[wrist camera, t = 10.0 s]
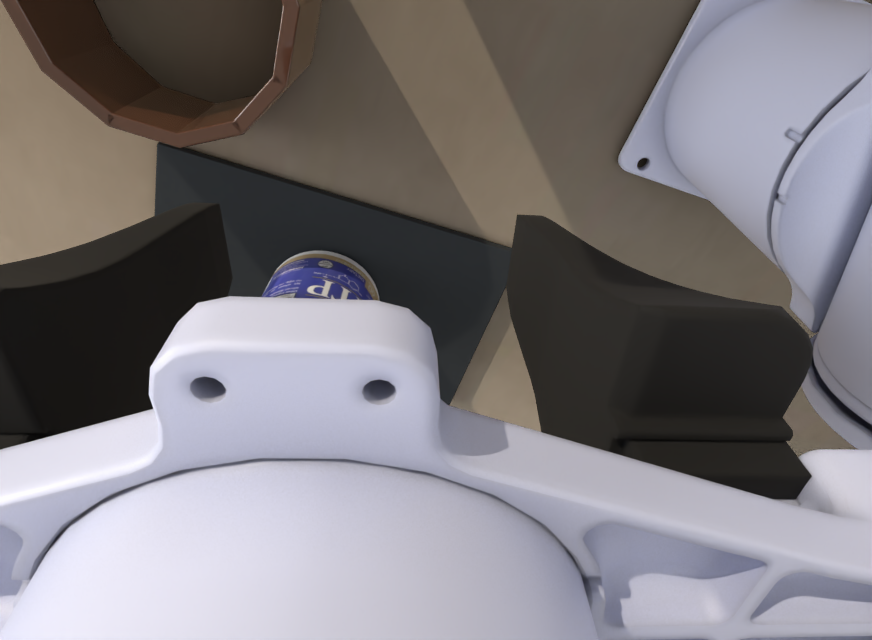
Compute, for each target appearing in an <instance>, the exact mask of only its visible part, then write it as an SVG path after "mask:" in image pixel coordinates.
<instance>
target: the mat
mask: <svg viewBox="0 0 872 640" xmlns="http://www.w3.org/2000/svg"><path fill="white" fill-rule="evenodd" d="M193 202H195V203H220V209H221V215H222V220H223V226H224V231H225V237H226V243H227V248H228V254H229V259H230V265H231V271H232V276H233V279H232V282H231V286H230V290H229V293H228V296H227V297H229V296H237V297H262V294H263V292H264V291H265V289H266V287H267V285H268V283H269V281H270V279H271V277H272V276H273V274H274V273H275V271H276V270H277V268H278V267H279V266H280V265H281V264H282V263H283V262H285V261H286V260H287V259H289V258H291V257H292V256H294V255H297V254H300V253H303V252H308V251H329V252H334V253H338V254H341V255H343V256H346V257H348V258H350V259H352V260H353V261H355V262H356V263H358V264H359V265H360V266H361V267H363V268H364V269H365V270H366V271H367V273H368V274H369V275H370V277H371V278H372V280H373V281H374V283H375V285H376V288H377V290H378V294H379V300H380V301H381V302H385V303H389V304H393V305H397V306H401V307H405V308H408V309H410V310H411V311H412V312H413V313H414V314H415V315H416V316H417V317H419V318H420V319H421V320H422V321H423V322H424V323H425V324H427V325H428V326H429V327H430V328H431V332H432V335H433V339H434V343H435V347H436V351H437V359H438V374H439V389H440V399H441V400H442V401H444V402H445V403H446V404H447V405H450V403H451V400H452V398H453V396H454V394H455V392H456V390H457V388H458V386H459V384H460V382H461V380H462V377H463V375H464V373H465V371H466V369H467V367H468V365H469V363H470V361H471V359H472V356H473V354H474V352H475V350H476V348H477V346H478V344H479V342H480V340H481V338H482V335H483V333H484V331H485V329H486V327H487V325H488V323H489V321H490V319H491V317H492V314H493V312H494V310H495V308H496V306H497V304H498V302H499V300H500V298H501V296H502V293H503V291H504V289H505V287H506V285H507V278H508V272H509V265H510V259H511V252H512V248H509V247H506V246H503V245H499V244H496V243H493V242H489V241H486V240H483V239H480V238H476V237H473V236H470V235H467V234H463V233H460V232H457V231H454V230H450V229H447V228H444V227H441V226H437V225H434V224H431V223H427V222H424V221H421V220H418V219H414V218H411V217H408V216H405V215H401V214H398V213H395V212H392V211H388V210H385V209H382V208H379V207H375V206H372V205H369V204H365V203H362V202H359V201H356V200H352V199H349V198H346V197H343V196H339V195H336V194H333V193H330V192H326V191H323V190H320V189H317V188H313V187H310V186H307V185H303V184H300V183H297V182H294V181H290V180H287V179H284V178H281V177H277V176H274V175H271V174H268V173H264V172H261V171H258V170H255V169H251V168H248V167H245V166H241V165H238V164H235V163H232V162H228V161H225V160H222V159H219V158H215V157H212V156H209V155H206V154H202V153H199V152H196V151H193V150H189V149H186V148H178V147H175V146H172V145H168V144H165V143H162V142H159V143H158V144H157V166H156V194H155V216H156V215H159V214H161V213H163V212H166V211H168V210H171V209H173V208H176V207H179V206H181V205H185V204H188V203H193Z"/></svg>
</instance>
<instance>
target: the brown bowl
mask: <svg viewBox="0 0 872 640" xmlns="http://www.w3.org/2000/svg"><path fill="white" fill-rule="evenodd" d="M1 1H2V3H3V5H4V7H5V8H6V10H7V12H8V14H9V15H10V17H11V19H12V21H13V22H14V24H15V26H16V27H17V29H18V31H19V33H20V34H21V36H22V38H23V40H24V41H25V43H26V45H27V47H28V48H29V50H30V52H31V54H32V55H33V57H34V59H35V60H36V62H37V64H38V66H39V67H40V69H41V71H43V72H44V73H45V74H46V75H47V76H49V77H50V78H51V79H52V80H53V81H55V82H56V83H57V84H58V85H59V86H61V87H62V88H63V89H64V90H65V91H67V92H68V93H69V94H70V95H72V96H73V97H74V98H75V99H76V100H78V101H79V102H80V103H81V104H82V105H84V106H85V107H86V108H87V109H88V110H90V111H91V112H92V113H93V114H94V115H96V116H97V117H98V118H99V119H100V120H102V121H103V122H104V123H105V124H106V125H108V126H109V127H113V128H116V129H119V130H123V131H126V132H129V133H132V134H136V135H139V136H142V137H146V138H149V139H152V140H155V141H159V142H162V143H165V144H168V145H172V146H175V147H178V148H183V147H188V146H192V145H197V144H201V143H206V142H211V141H215V140H220V139H225V138H229V137H234V136H238V135H243V134H244V133H245V132H246V131H247V130H248V129H249V128H250V127H251V126H252V125H253V124H254V123H255V122H256V121H257V120H258V119H259V118H260V117H261V116H262V115H263V114H264V113H265V112H266V111H267V110H268V109H269V108H270V107H271V106H272V105H273V104H274V103H275V102H276V101H277V100H278V98H279V97H280V96H281V95H282V94H283V93H284V92H285V91H286V90H287V89H288V87H289V86H290V85H291V84H292V83H293V82H294V81H295V80H296V79H297V78H298V77H299V75H300V74H301V73H302V72H303V71H304V70H305V69H306V68H307V67H308V66H309V65H310V64H311V60H312V55H313V49H314V44H315V38H316V33H317V27H318V22H319V16H320V11H321V5H322V0H281V2H282V5H283V9H282V16H281V22H280V29H279V36H278V43H277V50H276V56H275V63H274V70H273V76H272V78H271V79H270V80H269V81H268V82H267V83H266V84H265V85H264V87H263V88H262V89H261V90H260V91H259V92H258V93H257V95H252V96H248V97H243V98H239V99H234V100H230V101H226V102H221V103H217V104H215V103H212V102H209V101H206V100H203V99H199V98H196V97H193V96H190V95H187V94H184V93H181V92H178V91H175V90H172V89H169V88H166V87H162V86H161V85H160V84H159V83H158V82H157V81H156V80H155V79H153V78H152V77H151V76H150V75H149V74H148V73H147V72H146V71H145V70H143V69H142V68H141V67H140V66H139V65H138V64H137V63H136V62H135V61H134V60H132V59H131V58H130V57H129V56H128V55H127V54H126V53H125V52H124V51H123V50H121V49H120V48H119V47H118V46H117V45H116V44H115V43H114V42H113V40H112V38H111V36H110V34H109V32H108V30H107V28H106V26H105V24H104V22H103V20H102V17H101V15H100V13H99V11H98V9H97V7H96V5H95V3H94V1H93V0H1Z"/></svg>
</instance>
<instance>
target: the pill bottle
mask: <svg viewBox="0 0 872 640" xmlns="http://www.w3.org/2000/svg"><path fill="white" fill-rule="evenodd" d="M262 297H275V298H312V299H349V300H377V301H380V300H379V294H378V290H377V288H376V285H375V283H374V281H373V280H372V278H371V277H370V275H369V274H368V273H367V271H366V270H365V269H364V268H363V267H361V266H360V265H359V264H358V263H356V262H355V261H353V260H352V259H350V258H348V257H346V256H343V255H341V254H338V253H334V252H329V251H308V252H303V253H300V254H297V255H294V256H292V257H291V258H289V259H287V260H286V261H285V262H283V263H282V264H281V265H280V266H279V267H278V268H277V270H276V271H275V273H274V274H273V276H272V277H271V279H270V281H269V283H268V285H267V287H266V289H265V291H264V292H263V294H262Z"/></svg>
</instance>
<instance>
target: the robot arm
mask: <svg viewBox="0 0 872 640" xmlns="http://www.w3.org/2000/svg"><path fill="white" fill-rule="evenodd" d="M642 158H647V163H646V164H645V165H644V166H642V167H637V163H638V162H639V160H640V159H642ZM618 163H619V165H620V166H621V168H622V169H623V170H625V171H626V172H629V173H632V174H635V175H638V176H641V177H644V178H647V179H649V180H652V181H655V182H658V183H661V184H664V185H667V186H670V187H672V188H675V189H678V190H681V191H684V192H687V193H690V194H693V195H695V196H698V197H701V198H704V199H707V200H709V201H710V202H711V203H712V204H713V205H714V206H715V207H717V208H718V209H719V210H720V211H721V212H722V213H723V214H724V215H725V216H726V217H727V218H728V219H729V220H730V221H731V222H732V223H733V224H734V225H735V226H736V227H737V228H738V229H739V230H740V231H741V232H742V233H743V234H744V235H745V236H746V237H747V238H748V239H749V240H750V241H751V242H752V243H753V244H754V245H756V246H757V247H758V248H759V249H760V250H761V251H762V252H763V253H764V254H765V255H766V256H767V257H768V258H769V259H770V260H771V261H772V262H773V263H774V264H775V265H776V266H777V267H778V268H779V269H780V270H781V271H782V272H783V273H784V274H786V276H787V277H788V279H789V281H790V283H791V287H792V299H791V303H790V309H791V310H792V311H793V312H794V313H795V314H796V315H797V316H798V317H799V318H800V319H801V321H802V322H803V323H804V324H805V325H806V326H807V327H808V328H809V329H810V330H811V331H812V332H813V333H817V331H818V332H819V333H817V334H816V335H814V336H813V337H812V338H809V335H808V334H807V333H806V332H805V331H804V330H803V328H802V327H801V326H800V325H799V324H798V323H797V322H796V321H795V320H794V319H793V318H792V317H791V316H790V315H789V314H788V313H787V312H786V311H785V310H784V309H783V308H782V307H780V306H774V305H767V304H761V303H755V302H748V301H742V300H736V299H730V298H726V297H721V296H717V295H713V294H708V293H704V292H700V291H696V290H693V289H689V288H685V287H682V286H679V285H676V284H673V283H670V282H667V281H664V280H661V279H658V278H656V277H653V276H650V275H648V274H645V273H643V272H641V271H638V270H636V269H634V268H632V267H629V266H627V265H625V264H623V263H621V262H619V261H617V260H615V259H613V258H611V257H610V256H608V255H606V254H604V253H602V252H601V251H599V250H597V249H595V248H594V247H592V246H590V245H589V244H587V243H586V242H584V241H582V240H581V239H579V238H578V237H576V236H575V235H573V234H572V233H570V232H569V231H567V230H566V229H564V228H563V227H561V226H560V225H558V224H556V223H555V222H553V221H552V220H550V219H548V218H546V217H544V216H536V215H517V220H516V226H515V233H514V239H513V246H512V252H511V259H510V265H509V272H508V278H507V285H506V287H507V295H508V302H509V308H510V314H511V319H512V322H513V325H514V328H515V332H516V335H517V338H518V341H519V344H520V347H521V350H522V354H523V357H524V360H525V363H526V366H527V369H528V372H529V375H530V378H531V382H532V386H533V390H534V393H535V398H536V404H537V409H538V415H539V420H540V426H541V432H539V431H535V430H532V429H528V428H525V427H522V426H518V425H515V424H511V423H508V422H504V421H501V420H497V419H494V418H490V417H487V416H484V415H480V414H477V413H473V412H470V411H466V410H463V409H459V408H456V407H452V406H449V405H447V404H446V403H445V402H444V401H442V400H441V399H440V389H439V374H438V359H437V351H436V347H435V343H434V339H433V335H432V332H431V328H430V327H429V326H428V325H427V324H425V323H424V322H423V321H422V320H421V319H420V318H419V317H417V316H416V315H415V314H414V313H413V312H412V311H411V310H410V309H408V308H405V307H401V306H397V305H393V304H389V303H385V302H381V301H377V300H349V299H312V298H275V297H237V296H229V297H227V296H228V293H229V290H230V286H231V282H232V279H233V276H232V271H231V265H230V259H229V254H228V248H227V243H226V237H225V231H224V226H223V220H222V215H221V209H220V203H195V202H193V203H188V204H185V205H181V206H179V207H176V208H173V209H171V210H168V211H166V212H163V213H161V214H159V215H156V216H154V217H152V218H149V219H147V220H145V221H142V222H140V223H138V224H135V225H133V226H130V227H128V228H125V229H123V230H120V231H118V232H115V233H112V234H110V235H107V236H105V237H102V238H99V239H97V240H94V241H91V242H88V243H86V244H82V245H79V246H76V247H73V248H70V249H66V250H63V251H59V252H56V253H52V254H48V255H44V256H40V257H36V258H31V259H26V260H22V261H17V262H12V263H8V264H3V265H0V640H872V4H870V3H868V2H866V1H864V0H701V1H700V3H699V5H698V7H697V9H696V11H695V12H694V14H693V16H692V18H691V20H690V22H689V24H688V26H687V28H686V29H685V31H684V33H683V35H682V37H681V39H680V41H679V43H678V45H677V46H676V48H675V50H674V52H673V54H672V56H671V58H670V60H669V62H668V63H667V65H666V67H665V69H664V71H663V73H662V75H661V77H660V79H659V80H658V82H657V84H656V86H655V88H654V90H653V92H652V94H651V95H650V97H649V99H648V101H647V103H646V105H645V107H644V109H643V111H642V112H641V114H640V116H639V118H638V120H637V122H636V124H635V126H634V128H633V129H632V131H631V133H630V135H629V137H628V139H627V141H626V143H625V145H624V146H623V148H622V150H621V152H620V154H619V157H618ZM800 386H801V387H802V389H803V391H804V393H805V396H806V398H807V400H808V401H809V402H810V404H811V405H812V407H813V408H814V410H815V411H816V412H817V414H818V415H819V416H820V417H821V418H822V419H823V420H824V421H825V422H826V423H827V424H828V425H829V426H830V427H831V428H832V429H833V430H834V431H835V432H837V433H838V434H839V435H840V436H841V437H843V438H844V439H845V440H846V441H847V442H849V443H850V444H851V445H853V446H854V447H856V448H857V449H858V450H857V449H818V450H811V451H808V452H806V453H804V454H802V455H800V456H799V457H797V455H796V454H795V453H794V451H793V450H792V449H791V447H790V446H789V445H788V444H787V442H786V441H790V440H791V438H792V436H793V431H792V429H791V428H790V427H789V425H788V424H787V423H786V421H785V420H784V419H783V418H782V417H783V415H784V414H785V412H786V410H787V408H788V407H789V405H790V403H791V402H792V400H793V398H794V397H795V395H796V393H797V391H798V390H799V388H800Z"/></svg>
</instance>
